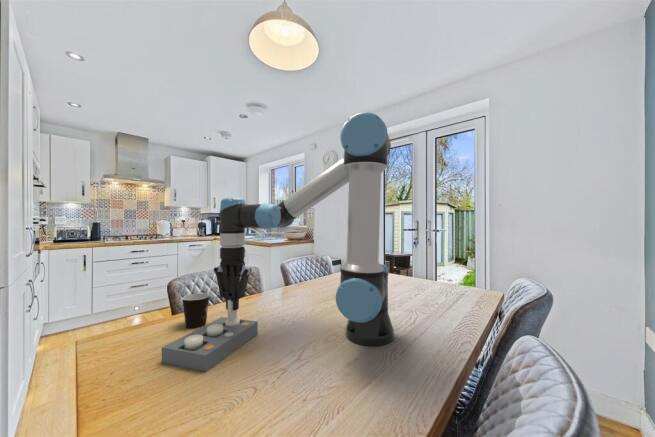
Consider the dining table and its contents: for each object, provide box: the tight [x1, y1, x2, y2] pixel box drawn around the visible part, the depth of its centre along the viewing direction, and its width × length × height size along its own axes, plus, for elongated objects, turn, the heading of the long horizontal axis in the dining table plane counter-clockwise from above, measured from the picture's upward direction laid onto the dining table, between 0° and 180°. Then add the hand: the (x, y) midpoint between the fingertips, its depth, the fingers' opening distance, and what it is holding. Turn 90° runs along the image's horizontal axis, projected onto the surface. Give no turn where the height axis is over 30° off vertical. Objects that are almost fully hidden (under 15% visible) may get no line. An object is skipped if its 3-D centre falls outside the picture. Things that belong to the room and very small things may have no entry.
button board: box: [161, 316, 259, 372], centre depth 78 cm, size 14×23×4 cm, turn 163°
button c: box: [184, 335, 203, 350], centre depth 71 cm, size 4×4×2 cm
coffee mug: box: [181, 292, 210, 330], centre depth 96 cm, size 12×9×10 cm
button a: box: [225, 317, 241, 327], centre depth 86 cm, size 4×4×2 cm
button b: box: [207, 324, 223, 337], centre depth 78 cm, size 4×4×2 cm
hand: (232, 319), depth 86 cm, fingers closed
